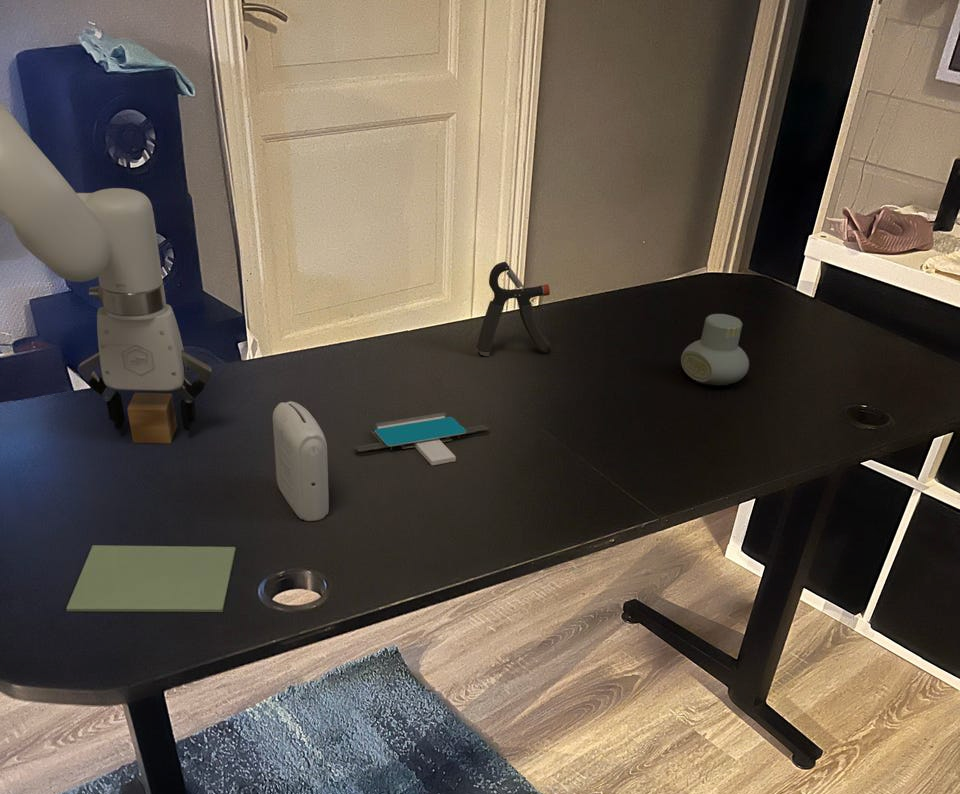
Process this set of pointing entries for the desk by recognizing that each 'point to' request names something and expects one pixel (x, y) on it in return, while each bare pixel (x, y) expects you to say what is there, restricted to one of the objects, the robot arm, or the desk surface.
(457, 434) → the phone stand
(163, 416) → the block
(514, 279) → the hand grip strengthener
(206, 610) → the mat
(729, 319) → the air freshener
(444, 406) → the desk surface
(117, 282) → the robot arm
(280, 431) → the photo printer
